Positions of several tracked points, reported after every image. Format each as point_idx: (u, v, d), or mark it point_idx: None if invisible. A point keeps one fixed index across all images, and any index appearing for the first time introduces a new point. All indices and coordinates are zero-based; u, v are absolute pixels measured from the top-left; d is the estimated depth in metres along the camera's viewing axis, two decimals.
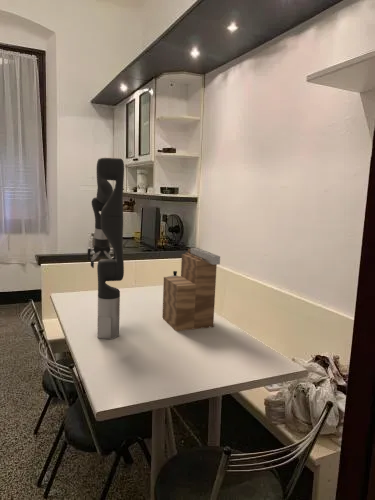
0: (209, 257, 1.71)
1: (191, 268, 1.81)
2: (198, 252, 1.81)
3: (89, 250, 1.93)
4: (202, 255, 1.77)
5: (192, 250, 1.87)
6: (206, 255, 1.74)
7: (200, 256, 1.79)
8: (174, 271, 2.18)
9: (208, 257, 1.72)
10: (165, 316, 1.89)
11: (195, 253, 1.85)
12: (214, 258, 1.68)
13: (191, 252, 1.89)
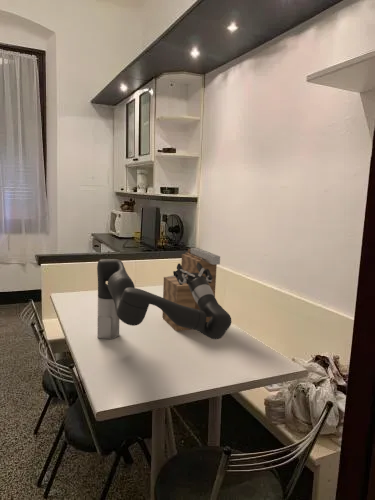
0: (209, 257, 1.71)
1: (191, 268, 1.81)
2: (198, 252, 1.81)
3: (210, 277, 1.55)
4: (202, 255, 1.77)
5: (192, 250, 1.87)
6: (206, 255, 1.74)
7: (200, 256, 1.79)
8: (174, 271, 2.18)
9: (208, 257, 1.72)
10: (165, 316, 1.89)
11: (195, 253, 1.85)
12: (214, 258, 1.68)
13: (191, 252, 1.89)
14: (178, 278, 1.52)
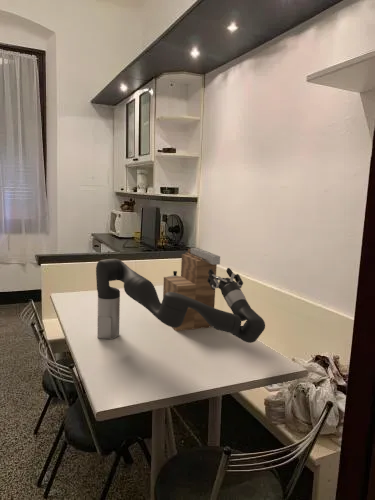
0: (209, 257, 1.71)
1: (191, 268, 1.81)
2: (198, 252, 1.81)
3: (241, 282, 1.62)
4: (202, 255, 1.77)
5: (192, 250, 1.87)
6: (206, 255, 1.74)
7: (200, 256, 1.79)
8: (174, 271, 2.18)
9: (208, 257, 1.72)
10: None
11: (195, 253, 1.85)
12: (214, 258, 1.68)
13: (191, 252, 1.89)
14: (211, 283, 1.59)
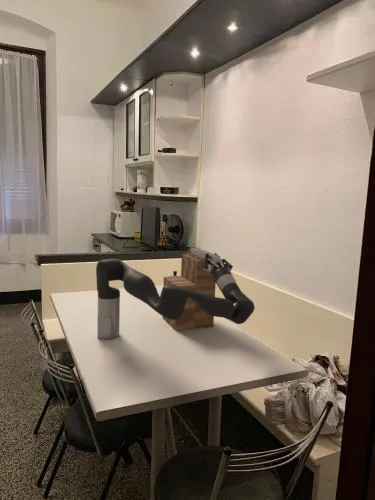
0: None
1: (191, 268, 1.81)
2: (198, 252, 1.81)
3: (230, 265, 1.69)
4: (202, 255, 1.77)
5: (192, 250, 1.87)
6: None
7: (200, 256, 1.79)
8: (174, 271, 2.18)
9: None
10: None
11: (195, 253, 1.85)
12: (214, 258, 1.68)
13: (191, 252, 1.89)
14: (204, 266, 1.66)
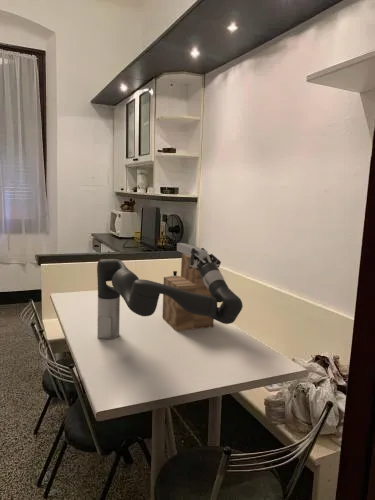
0: None
1: None
2: (185, 247, 1.69)
3: (218, 261, 1.57)
4: (189, 250, 1.65)
5: (179, 245, 1.75)
6: None
7: (187, 251, 1.67)
8: (174, 271, 2.18)
9: None
10: (165, 316, 1.89)
11: (181, 248, 1.72)
12: (201, 253, 1.56)
13: (178, 247, 1.76)
14: (190, 261, 1.54)
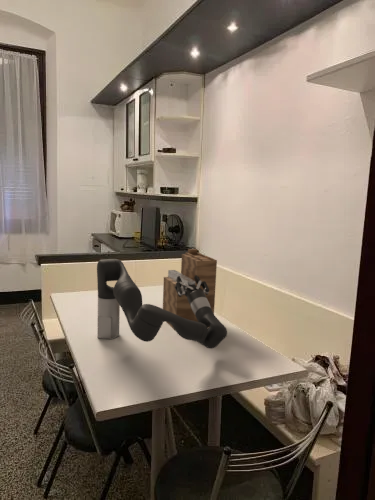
0: (184, 282, 1.70)
1: (191, 268, 1.81)
2: (175, 275, 1.81)
3: (207, 289, 1.68)
4: None
5: (169, 273, 1.87)
6: (182, 279, 1.73)
7: None
8: None
9: (184, 282, 1.71)
10: None
11: (172, 275, 1.84)
12: (189, 283, 1.67)
13: (169, 274, 1.88)
14: (177, 290, 1.64)
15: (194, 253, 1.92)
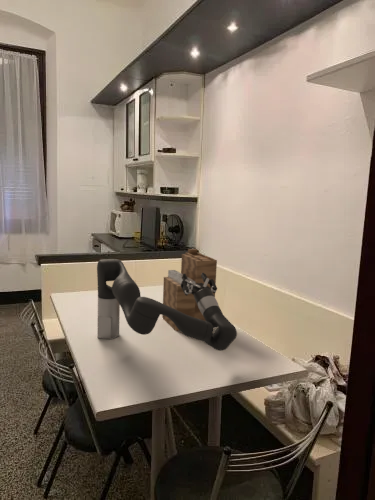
0: None
1: (191, 268, 1.81)
2: (175, 275, 1.81)
3: (215, 287, 1.59)
4: (178, 279, 1.77)
5: (169, 273, 1.87)
6: None
7: (177, 280, 1.79)
8: None
9: None
10: (165, 316, 1.89)
11: (172, 275, 1.84)
12: None
13: (169, 274, 1.88)
14: (184, 289, 1.55)
15: (194, 253, 1.92)
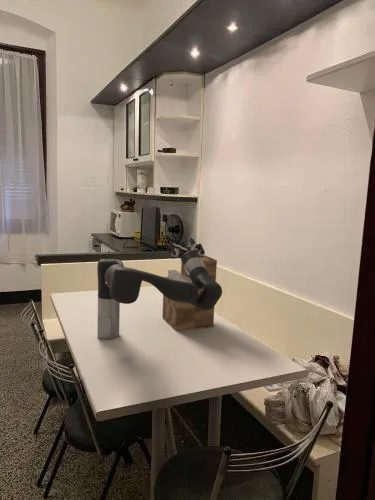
0: None
1: None
2: (175, 275, 1.81)
3: (203, 251, 1.57)
4: (178, 279, 1.77)
5: (169, 273, 1.87)
6: (182, 279, 1.73)
7: (177, 280, 1.79)
8: None
9: None
10: (165, 316, 1.89)
11: (172, 275, 1.84)
12: None
13: (169, 274, 1.88)
14: (171, 252, 1.54)
15: None
